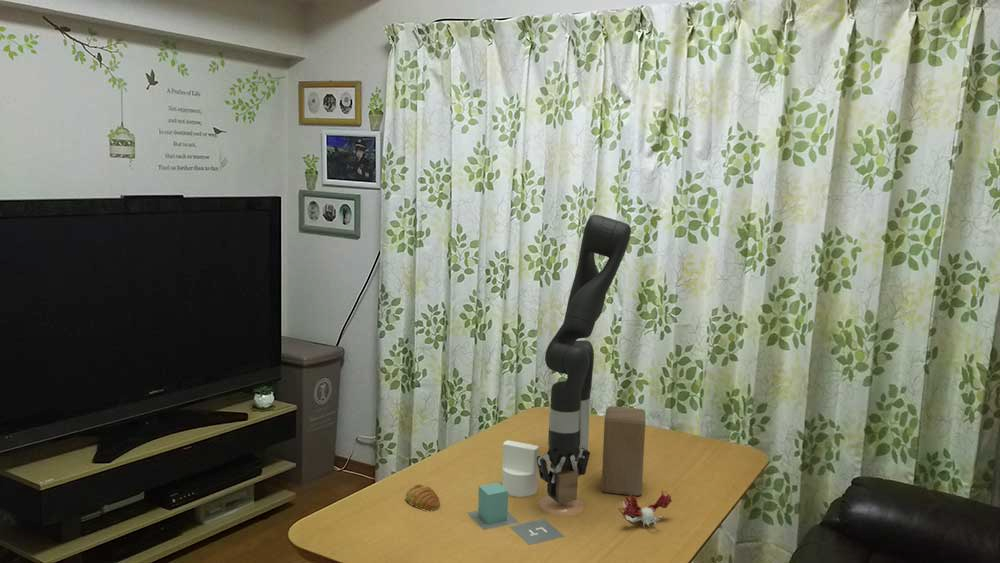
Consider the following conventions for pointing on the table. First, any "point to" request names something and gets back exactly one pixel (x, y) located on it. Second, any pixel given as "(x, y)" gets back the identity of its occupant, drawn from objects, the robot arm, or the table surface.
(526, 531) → the code tile
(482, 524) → the code tile
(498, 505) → the teal block
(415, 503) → the pastry
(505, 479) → the cylinder with rectangular tab
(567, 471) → the walnut block
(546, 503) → the pink round disc
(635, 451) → the block
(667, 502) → the figurine
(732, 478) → the table surface
